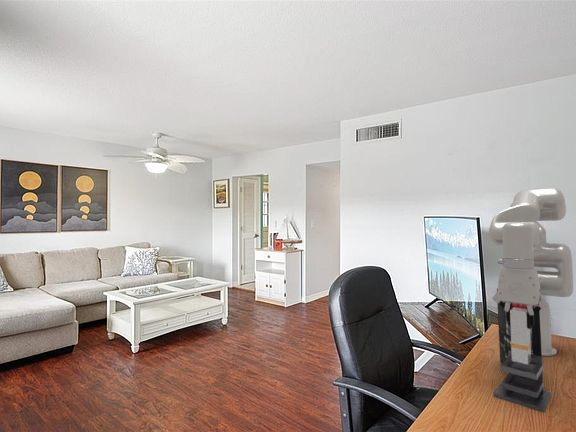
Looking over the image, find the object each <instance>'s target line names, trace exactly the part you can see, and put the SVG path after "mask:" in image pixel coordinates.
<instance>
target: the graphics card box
mask: <svg viewBox="0 0 576 432" xmlns="http://www.w3.org/2000/svg"><path fill="white" fill-rule="evenodd" d="M497 292H498V287H497V288H496V293H497ZM496 303H497V302H496ZM505 303H506V302H505ZM538 305H539V303H538V304H537V305H534V307H536V306H538ZM513 307H515V308H522V309H528V308H527V305H524V304H517V303H512V307H511V309H512V308H513ZM497 321H498V322H497V323H498V324H497V325H498V341H499V342H498V345H499V362H500V363H501V365H502V364H503V363H504V361H505V360H506V359H507V358H508V350H511V326H510V325H508V322H507V321H506V311H505V310H504V309H503V308H502V307H501V306H500V305H499V304H498V303H497ZM530 343H531V355H536V356H540V357H543V355H542V351H541V331H540V311H538V312H537V313H535V314H534V326H532V328H531V329H530Z"/></svg>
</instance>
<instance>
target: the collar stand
mask: <svg viewBox="0 0 576 432" xmlns="http://www.w3.org/2000/svg"><path fill="white" fill-rule="evenodd" d="M500 372H505V373H507V375H506V376H505V377H504V379H503V380H502V381H501V382H500V384H499V385H498V387H497V388H496V389H495V391H493V397H494V398H498V399H500V400H504V401H507V402H510V403H513V404H516V405H520V406H522V407H526V408H529V409H532V410H536V411H539V412H542V413H545V411H546V410H547V407H548V405H549V403H550V401H551V398H552V397H553V394H552V391H548V390H545V378H544V377H545V376H544V375H545V373H544V356H542V357H540V356H536V355H531V361H530V363H529V364H528V365H527V364H523V363H519V362H515V361H512V352H511V350H508V358H507V359H506V360H505V361H504V363H503V364H502V363H501V365H500Z"/></svg>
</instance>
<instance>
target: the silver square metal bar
mask: <svg viewBox="0 0 576 432" xmlns="http://www.w3.org/2000/svg"><path fill="white" fill-rule="evenodd" d="M527 315H528V309H522V308H515V307H513V308H512V309H511V310H510V323H511V352H512V361H515V362H519V363H523V364H527V365H528V364H529V363H530V361H531V343H530V329H528V328H527Z"/></svg>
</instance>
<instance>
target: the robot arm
mask: <svg viewBox="0 0 576 432" xmlns="http://www.w3.org/2000/svg"><path fill="white" fill-rule="evenodd" d="M566 214H567V205H566V200H565V196H564V193H563V192H562V191H561V190H560V189H559V188H556V187H543V188H541V187H539V188H528V189H523V190H520V191H518V192H517V193H516V194H515V195H514V198H513V201H512V202H511V204H510V205H509V208H506V209H504V210H501V211H500V212H497V213H496V214H495V215H494V216H493V217H492V219H491V222H490V224H489V228H488V229H489V230H488V238H489V240H490V242H491V243H492V244H493V245H497V246H502V258H499V259H497V264H500V265H502V267H500V268H499V272H498V279H497V281H498V282H497V288H498V292H497V291H496V293H495V294H494V295H493V297H492V300H493V301H494V302H495V303H498V304H499V305H500V306H501V307H502V308H503V309H504V310H505V311H506V321H507V322H508V325H510V326H511V323H510V310H511V307H512V303H517V304H524V305H527V308H528V315H527V328H528V329H531V328H532V326H534V314H535V313H537V312H538V311H540V331H541V351H542V357H545V356H546V357H550V356H551V357H552V356H555V355H557V352H558V351H557V349H556V348H555V347H553V346H552V329H551V328H552V325H551V307H550V304H549V303H548V302H547V300H546V299H545V298H544V296H545V297H546V296H548V297H558V298H570V297H571V296H572V295H573V293H574V272H573V255H572V252H571V248H570V247H569V246H568V245H566V244H564V243H554V242H553V243H549V242H547V230H546V229H545V228H544V227H543V226H542V224H541V223H539V222H543V221H545V222H547V221H548V222H551V221H553V222H554V221H561V220H563V219H564V218H565V217H566ZM535 268H548V269H549V268H550V269H551V268H552V269H555V270H556V271H550V270H538V269H535ZM505 302H506V303H505ZM538 303H539V305H538V306H536V307H534V305H537V304H538ZM498 304H497V305H498Z"/></svg>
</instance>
